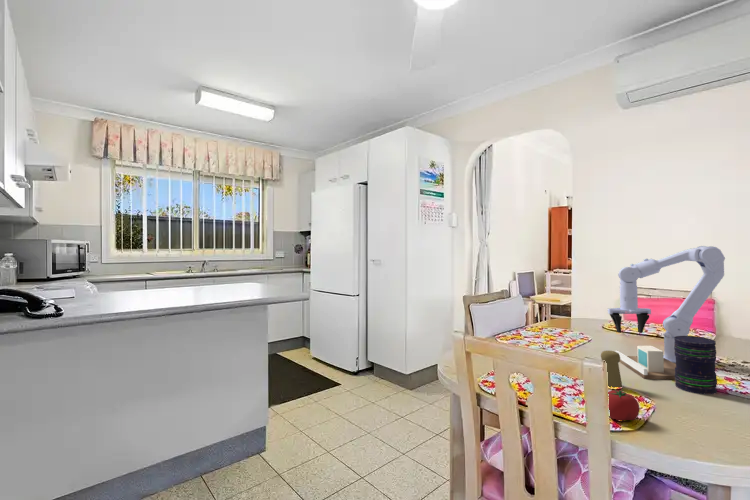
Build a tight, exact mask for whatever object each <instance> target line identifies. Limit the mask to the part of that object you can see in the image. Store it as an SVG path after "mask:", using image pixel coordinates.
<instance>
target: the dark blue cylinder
mask: <svg viewBox="0 0 750 500" xmlns="http://www.w3.org/2000/svg"><path fill="white" fill-rule="evenodd" d="M674 340H675V342H674V350H675V352H674V353H675V356H676V363H675V364H676V367H675V382H674V383H675V387H676V388H677V389H679V390H682V391H683V392H686V393H687V392H688V393H692V394H697V395H704V396H706V395H707V396H708V395H709V396H711V395H715V394H717V391H718V389H717V384H718V380H717V372H716V361H717V347H716V345H717V344H716V342H717V341H716V340H714V339H711V338H707V337H703V336H702V337H701V336H697V335H696V336H694V335H687V336H676V337H674Z"/></svg>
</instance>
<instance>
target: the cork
mask: <svg viewBox="0 0 750 500" xmlns="http://www.w3.org/2000/svg"><path fill="white" fill-rule="evenodd" d="M615 351H616V350H603V351H602V352H600V353H601V354H600V359H601V361H603V360H605V361H606V363H607V372H608V386H609V387H611V386H612V387H623V382H622V377H621V371H620V370H621V369H620V365H619V363H620V362H619V361H620V355H619V353H617V352H615Z"/></svg>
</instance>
